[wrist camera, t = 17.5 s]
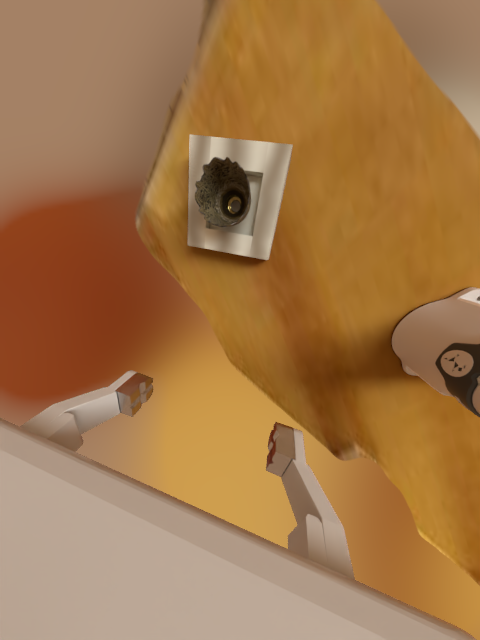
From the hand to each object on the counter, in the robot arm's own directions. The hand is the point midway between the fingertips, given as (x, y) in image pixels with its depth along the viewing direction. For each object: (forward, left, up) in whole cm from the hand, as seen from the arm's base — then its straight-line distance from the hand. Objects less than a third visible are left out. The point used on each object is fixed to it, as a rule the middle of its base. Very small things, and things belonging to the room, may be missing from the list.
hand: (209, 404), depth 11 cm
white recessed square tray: (+7, -14, -29) cm, 33 cm away
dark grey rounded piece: (+7, -14, -27) cm, 31 cm away
